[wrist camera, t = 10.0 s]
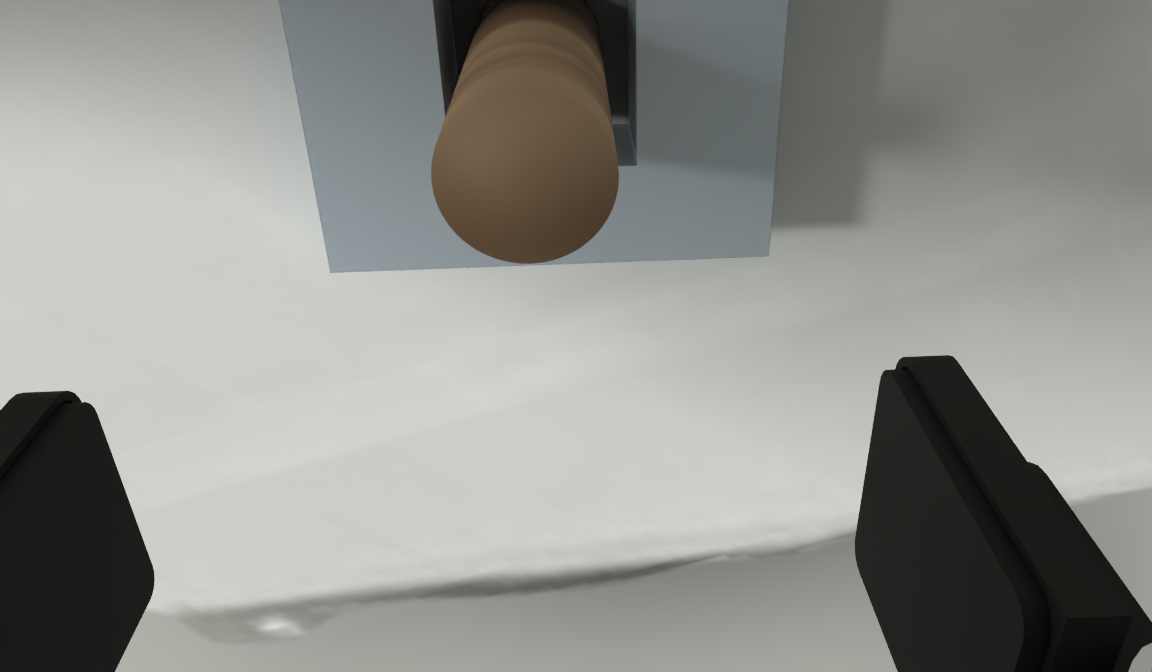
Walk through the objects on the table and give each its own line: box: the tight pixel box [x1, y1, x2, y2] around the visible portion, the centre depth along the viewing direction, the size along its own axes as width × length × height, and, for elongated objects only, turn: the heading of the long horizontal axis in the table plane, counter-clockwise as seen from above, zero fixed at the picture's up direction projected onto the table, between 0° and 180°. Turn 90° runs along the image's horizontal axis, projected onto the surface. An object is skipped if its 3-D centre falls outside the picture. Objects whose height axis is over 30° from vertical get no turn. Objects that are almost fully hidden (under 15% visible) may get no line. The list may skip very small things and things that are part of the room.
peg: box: [431, 0, 619, 264], centre depth 25 cm, size 4×4×12 cm
